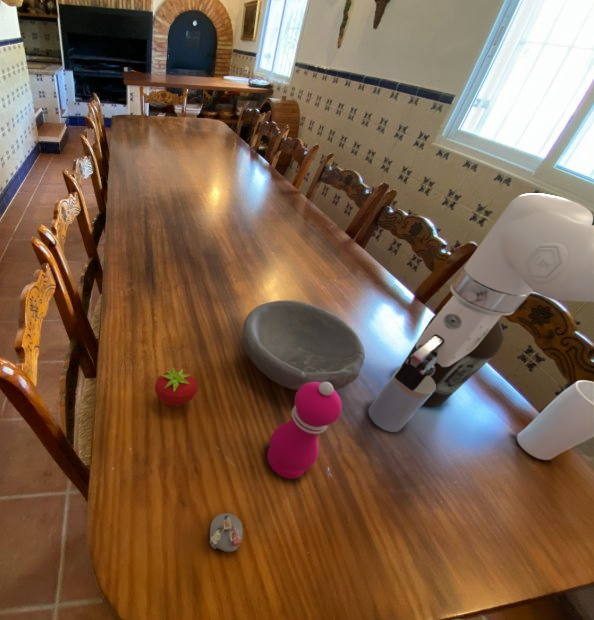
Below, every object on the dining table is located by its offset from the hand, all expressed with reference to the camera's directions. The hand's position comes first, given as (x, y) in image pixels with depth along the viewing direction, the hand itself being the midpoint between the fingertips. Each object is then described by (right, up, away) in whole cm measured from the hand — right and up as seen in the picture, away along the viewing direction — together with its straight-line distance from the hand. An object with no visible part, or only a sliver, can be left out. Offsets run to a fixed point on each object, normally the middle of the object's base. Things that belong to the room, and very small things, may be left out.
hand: (421, 372), depth 59 cm
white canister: (-1, -10, +8) cm, 13 cm away
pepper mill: (-22, -15, +1) cm, 27 cm away
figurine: (-34, -22, -9) cm, 41 cm away
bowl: (-16, -2, +17) cm, 23 cm away
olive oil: (+10, -6, +15) cm, 19 cm away
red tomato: (-41, -8, +7) cm, 42 cm away
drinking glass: (+24, -15, +6) cm, 29 cm away
